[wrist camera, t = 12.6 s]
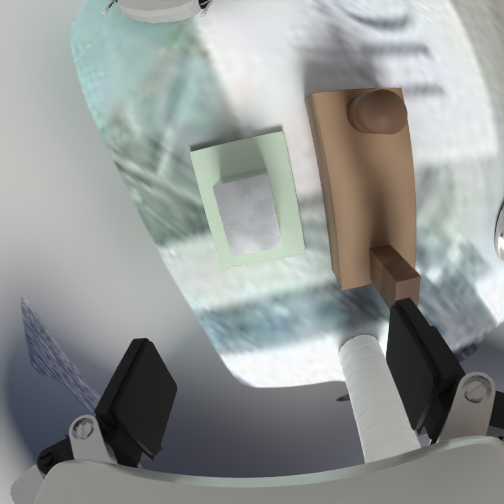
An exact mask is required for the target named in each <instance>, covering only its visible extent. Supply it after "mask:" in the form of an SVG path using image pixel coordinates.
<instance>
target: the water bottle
mask: <svg viewBox="0 0 504 504" xmlns="http://www.w3.org/2000/svg"><path fill="white" fill-rule="evenodd" d="M339 359H340V363H341V366H342V369H343V374H344V377H345V380H346V385H347V388H348V392H349V396H350V398H351V404H352V408H353V411H354V416H355V420H356V423H357V428H358V432H359V436H360V440H361V444H362V449H363V454H364V456H365V457H364V458H365V464H366V463H370V462H374V461H378V460H382V459H386V458H389V457H393V456H396V455H400V454H403V453H406V452H409V451H412V450H416V449H419V448H421V447H420V444H419V442H418V439H417V437H416V434H415V431H414V430H412V428H411V426H410V423H409V420H408V417H407V414H406V411H405V409H404V406H403V403H402V401H401V398H400V395H399V393H398V390H397V388H396V385H395V382H394V380H393V377H392V375H391V372H390V370H389V367H388V365H387V362H386V358H385V356H384V354H383V352H382V349H381V347H380V345H379V343H378V341H377V340H376V338H375V337H373V336H371V335H359V336H356V337H355V338H351V339H349V340H348V341H347V342H345V344H344V345H343V346H342V347H341V349H340V351H339Z"/></svg>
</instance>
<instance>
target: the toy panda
mask: <svg viewBox="0 0 504 504" xmlns="http://www.w3.org/2000/svg"><path fill="white" fill-rule="evenodd" d="M114 1H115V0H112V1H111V3H110V4H109V5H108V7H107V8H106V9H105V10H104V11H103V15H104V14H106V13H107V11H108V9H109V8H110V7H111V5H112V4H113V3H114ZM116 2H117V8H118V9H119V10H120V11H121V12H122V13H124V14H125V15H126V16H127V17H128V18H130V19H133V20H136V21H141V22H147V23H164V22H174V21H180V20H185V19H187V18H190V17H193V16H195V15H196V14H197V13H198V12H200V10H201V9H204V11H203V12H202V13H201V17H203V16H205V14H206V11H207V10H208V8H209V7H210V5H211V3H212V2H213V0H116Z"/></svg>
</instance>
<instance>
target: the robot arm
mask: <svg viewBox="0 0 504 504" xmlns="http://www.w3.org/2000/svg"><path fill="white" fill-rule="evenodd" d="M495 246H496V251H497V254H498V256H499V258H500V259H501V260H502V261H503V262H504V206H503V208H502V210H501V212H500V215H499V218H498V222H497V226H496V233H495ZM386 362H387V365H388V367H389V370H390V372H391V375H392V377H393V380H394V382H395V385H396V388H397V390H398V393H399V395H400V398H401V401H402V403H403V406H404V409H405V411H406V414H407V417H408V420H409V423H410V426H411V428H412V430H417V433H418V435H419V436H420V435H423V434H425V433H427V434H428V437H429V438H430V439H431V440H430V443H429V445H428V446H426V447H422V448H419V449H416V450H412V451H409V452H406V453H403V454H400V455H396V456H393V457H389V458H386V459H382V460H378V461H374V462H370V463H366V464H362V465H357V466H352V467H347V468H343V469H338V470H332V471H325V472H319V473H311V474H303V475H294V476H282V477H267V478H216V477H200V476H187V475H178V474H170V473H163V472H157V471H150V470H145V469H142V467H141V465H140V463H139V461H140V458H141V459H144V460H149V461H153V459H154V456H155V455H157V454H158V452H159V449H160V445H161V442H162V438H163V435H164V432H165V428H166V425H167V422H168V418H169V415H170V412H171V408H172V405H173V402H174V398H175V395H176V392H177V385H176V383H175V381H174V380H173V378H172V376H171V375H170V373H169V371H168V370H167V368H166V366H165V364H164V363H163V360H162V359H161V357H160V355H159V353H158V352H157V350H156V348H155V346H154V344H153V343H152V342H151V341H149V340H148V339H147V338H141V339H133V341H132V342H131V344H130V346H129V348H128V349H127V351H126V353H125V354H124V356H123V358H122V360H121V362H120V364H119V366H118V367H117V369H116V371H115V373H114V375H113V377H112V378H111V380H110V382H109V384H108V386H107V388H106V390H105V392H104V394H103V396H102V397H101V399H100V401H99V403H98V405H97V407H96V409H95V411H94V412H95V413H96V418H94V417H93V416H91V415H83V416H80V417H78V418H77V419H76V420H75V421H74V422H73V423H72V425H71V426H70V430H69V436H70V437H68V438H66V439H64V440H62V441H60V442H58V443H56V444H54V445H52V446H50V447H48V448H46V449H45V450H43V451H42V452H41V453H40V455H39V457H38V466H37V465H34V466H32V467H31V468H30V469H29V470H28V471H27V472H26V473H24V475H22V476H21V477H20V478H19V479H18V480H17V481H15V482H14V483H13V485H12V487H11V496H12V499H13V501H14V503H15V504H504V393H502V392H499V391H495V384H494V382H493V380H492V379H491V377H489V376H487V375H486V374H484V373H481V372H473V373H469V374H467V375H466V374H465V372H464V370H463V369H462V367H461V366H460V364H459V362H458V361H457V359H456V357H455V356H454V354H453V353H452V351H451V350H450V348H449V347H448V345H447V343H446V342H445V340H444V339H443V337H442V336H441V334H440V333H439V331H438V330H437V329H436V328H435V327H434V326H430V325H429V323H428V322H427V321H426V319H425V318H424V316H423V315H422V313H421V312H420V310H419V309H418V308H417V306H416V305H415V303H414V302H413V301H412V299H411V298H409V297H408V298H404V299H400V300H396V301H395V303H394V305H392V306H391V308H390V321H389V332H388V342H387V351H386Z"/></svg>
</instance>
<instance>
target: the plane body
mask: <svg viewBox="0 0 504 504" xmlns="http://www.w3.org/2000/svg"><path fill="white" fill-rule="evenodd" d="M305 104H306V108H307V113H308V117H309V122H310V127H311V131H312V136H313V141H314V147H315V152H316V157H317V163H318V168H319V174H320V180H321V186H322V193H323V199H324V206H325V213H326V220H327V228H328V235H329V244H330V252H331V262H332V270H333V272H334V274H335V276H336V278H337V281H338V283H339V285H340V287H341V290H347V289H352V288H356V287H361V286H366V285H370V284H374V285H375V287H376V289H377V290H378V292H379V293H380V295H381V296H382V298H383V300H384V301H385V303H386V304H387V306H388V308H389V309H390V308H391V306H392V305H394V303H395V301H396V300H400V299H404V298H408V297H409V298H411V299H412V301H413V302H414V303H415V305H416V306H417V308H418V299H419V290H420V279H421V276H420V275H419V274H418V273H417V272H416V271H415V262H416V196H415V180H414V167H413V157H412V149H411V141H410V133H409V127H408V120H407V109H406V106H405V104H404V99H403V94H402V89H401V88H369V89H352V90H339V91H328V92H319V93H312V94H311V95H310V96H309V97H308V98H306V99H305Z"/></svg>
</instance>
